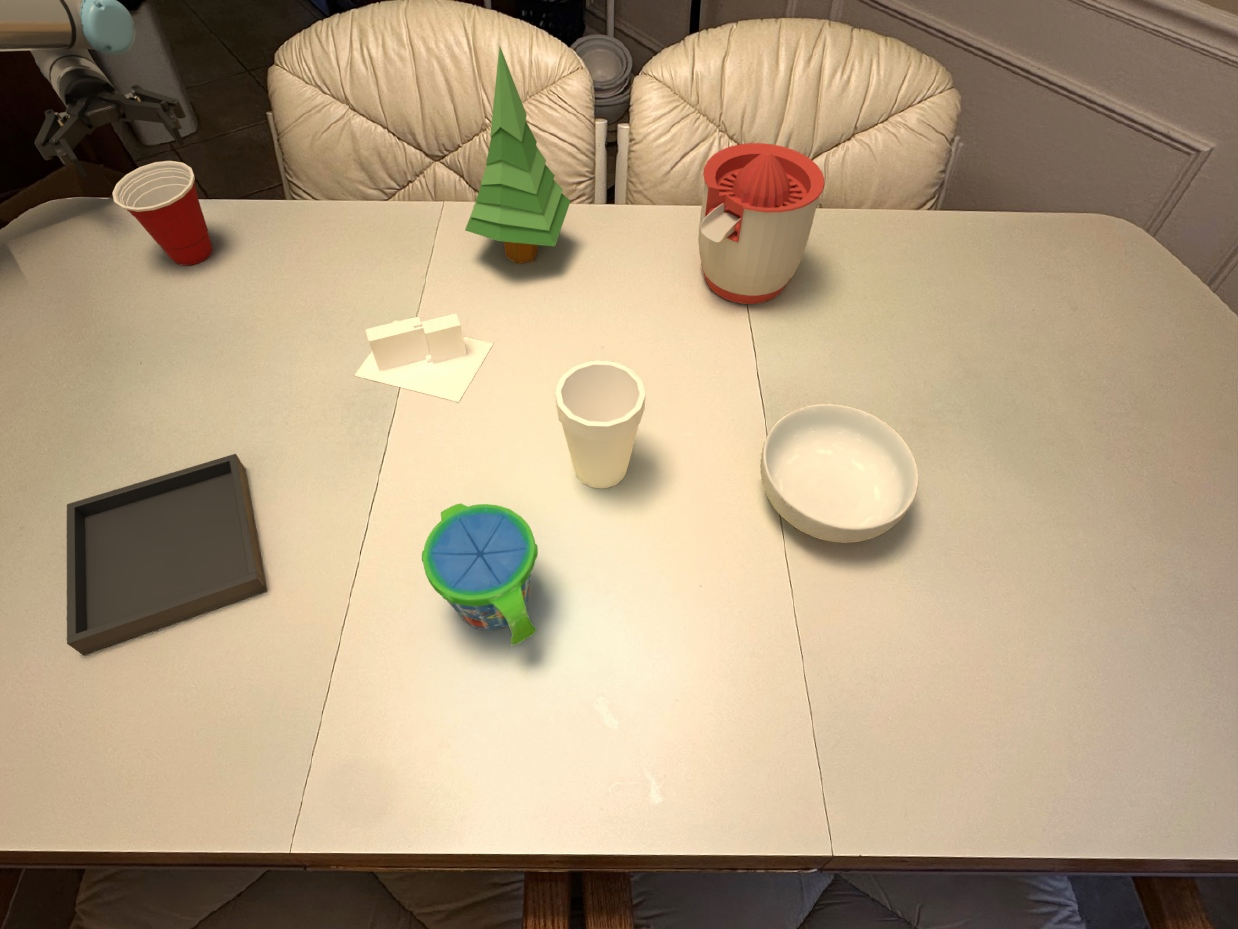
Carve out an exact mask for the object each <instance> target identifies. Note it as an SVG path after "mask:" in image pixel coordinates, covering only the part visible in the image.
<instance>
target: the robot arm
mask: <svg viewBox="0 0 1238 929" xmlns="http://www.w3.org/2000/svg"><path fill="white" fill-rule="evenodd" d="M135 39H136V26H135V22H134V19H133V17H132V15H131V13H130V11H129V10H128V9H127V8H126V6H124V5H123V4H122V3H121V2H120V1H118V0H0V52H18V51H19V52H21V51H25V52H27V51H29V52H30V53H31V55H32V56H33V58H34V60H35V64H36V65H37V67H38V68H39V70H40V73H41V74H42V76H44V78H45V79H47V81H48V82H49V83H50V84H51V86H52V89H53V90H54V91H55V92H56V94H57V95H58V97H59V98H60V100H61V102H62V103H63V104H64V106H65V108H66V109H65V111H64V112H55V111H54V110H53V109H47V110H45V111H44V116H45V119H44V120H43V121H44V122H43V123H42V125H41V127H40V130H39V132H38V134H37V135H36V137H35V140H34V143H33V144H34V146H35V147H36V149H37V150H38V152H39V153H40V155H41V156H42V157H43V159H44V161H51V160H52V159H54V157H55V156H56V157H58V158H59V160H60V161H61V163H62V164H63V165H65V166H67V165H71V164H73V165H74V167H75V168H76V170H77V171H78V174H79V175H80V176H81V178H87V177H89V175H88V174H87V172H86V170H85V169H84V167H83V165H82V163H81V162H80V160H79V159H78V157H77V156H76V154H75V152H74V149H76V147H77V146H78V145H79V143H80V142H82V140H83V139H84V138H85V136H91V135H92V134H93V133H94V132H95V131H96V129H97V128H100V127H104V126H108V125H110V124H112V123H119V122H125V123H126V122H127V123H133V122H134V121H143V122H150V123H159V124H163V126H164V129H165V130H166V131H167V132H168V134H169V135H170V136H171V137H172V138H173V140H174V141H175V142H176V143H177V144H178V146H179V147H182V146H185V145H186V143H185V142H184V139H183V138H182V135H181V134H180V131H179V130H181V129H183V128H182V124H181V122H180V120H181V119H185V118H186V117H187V115H186V112H185V110H184V108H183V105H182V104H181V102H180V100H179V99H178V98H174V97H171V96H168V95H164V94H160V93H158V92H154V91H151V90H147V89H144V88H143V87H141V85H139V84H134V85H131V87H130V88H131V91H130V92H128V93H126V94H124V93H123V92H119V91H118V90H117V89H116V87H114V84H112V82H111V81H110V80H109V79H108V77H107V76H106V75H105V73H104V72H103V71H102V70H101V69H100V67H98V65H97V63H96V62H95V60H94V59H93V57H92V55H91V54H90V52H89V50H94V51H97V52H99V53H101V54H109V55H114V56H115V55H122V54H125V53H126V52H128V51H129V50H131V48H132V46H133V45H134V42H135Z"/></svg>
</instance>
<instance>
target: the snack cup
mask: <svg viewBox="0 0 1238 929" xmlns="http://www.w3.org/2000/svg"><path fill="white" fill-rule="evenodd" d="M440 517H441V520H440V521H439V522H437V524H436V525H435V526H434V527H433V528H432V530H431V531H430V533H429V534H428V536H427V538H426V540H425V543H424V546H423V550H422V551H421V561H422V565H423V569H424V572H425V575H426V578H427V581H428V582H429V584H430V586H431V587H432V588H433V590H434V591H435V592H436V593H437V594H439V595H440V596H441V597H442V598H443V599H444V600H446V601H447V602H448V604H449V605H450V606H451V608H452V609H453V610H454V611H455V613H456V615H458V616H459V617H460V618H461V620H462V621H463V622H464V623H466V624H467V625H469V626H470V627H472V628H475V629H477V630H478V629H479V630H497V629H498V630H499V629H501V628H502V629H503V628H504V627H509V629H510V630H509V631H510V632H511V637H510V641H509V642H510V645H511V646H516V645H518V644H521V643H522V642H524V641H525V640H528V639H529V638H530V637H532V636H533V635H534V634H535V633H536V632H537V628H536V626H534V624H533V623H532V622H531V619H530V617H529V614H528V610H527V607H526V606H527V603H528V600H529V595H530V590H531V580H532V579H531V578H532V572H533V570H534V567H535V563H536V560H537V558H538V552H539V550H538V549H539V548H538V544H537V543H536V540H535V536H534V534H533V531H532V529H531V526H530V525H529V524H528V522H527V521H526V520H525V519H524V518H523V517H522V516H521V515H519V513H517V512H515V511H514V510H512V509H510V508H507V507H505V506H501V505H497V504H488V503H484V504H483V503H482V504H481V503H480V504H472V505H465V504H463V503H462V502H461V503H457V504H454V505H452V506H449V507H447V508H445V509H444V510H442V511H441V512H440Z"/></svg>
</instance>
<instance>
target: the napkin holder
mask: <svg viewBox="0 0 1238 929" xmlns="http://www.w3.org/2000/svg"><path fill="white" fill-rule="evenodd" d="M365 333H366V336H367V340H368V343H369V347H370V349H371V352H370V353H369V354H368V356H367V357H366V358H365V360H364V361H363V362H362V364H361V365H360V367H359V368H358V369H357V371H356V372H355V374H354V377H358V378H362V379H366V380H368V381H374V382H378V383H382V384H385V385H390V386H393V387H397V388H402V389H405V390H409V391H413V392H417V393H422V394H426V395H429V396H432V397H437V398H441V399H445V400H449V401H453V402H457V403H459V402H460V401H461V399H462V397H463V396H464V394H465V392H466V391H467V389H468V387H469V386H470V384H471V382H472V380H473V379H474V377H476V376H475V375H476V374H477V372H478V371H479V369H480V367H481V366H482V364H483V362H484V360H485V359H486V358H487V355H488V354H489V352H490V351H491V349H492V347H493V345H494V343H493V342H488V341H485V340H481V339H475V338H471V337H467V336H464V335H463V329H462V325H461V321H460V319H459V317H458V315H457V313H456V312H455V313H451V314H448V315H443V316H440V317H436V318H432V319H427V320H424V321H421V317H420V316H419V315H418V316H415V317H411V318H406V319H401V320H393V322H389V323H386V324H382V325H378V326H374V327H369V328H366V329H365Z"/></svg>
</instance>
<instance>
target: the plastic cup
mask: <svg viewBox="0 0 1238 929" xmlns="http://www.w3.org/2000/svg"><path fill="white" fill-rule="evenodd" d="M195 181H196V178H195V174H194V172H193V169H192V167H191V166H189V165H187V164H186V163H184V162H180V161H173V160H164V161H155V162H152V163H149V164H146V165H143V166H139V167H138V168H136V169H133V170H132V171H130V172H129V173H127V174H125V175H124V176H123V177H122V178H121V179H120V180H119V181H118V182H117V183H116V184H115V186H114V189H113V191H112V198H113V202H114V203H115V204H116V205H118V206H120V208H122V209H123V210H125V211H127V212H129V214H131V216H133V217H134V218H135V219H136V221H138V223H139V224H140V225H141V226H142V227H143V229H144V230H145V231H146V232H147V233H148V234H149V235H150V236H151V238H152V239H153V241H155V243H156V244H158V245H159V246H160V247H161V249H162V250H163V251H164V253H165V254H166V255H167V256H168V258H170V259H171V260H172V261H173V262H174V263H176V264H177V265H181V266H193V265H197V264H200V263H202V262H204V261H206V260H207V259H208V258H209V257H211V255H212V253H213V245H212V242H211V239H210V238H211V237H210V235H209V228H208V225H207V223H206V220H205V219H206V218H205V216H204V213H203V209H202V207H201V204H200V201H199V200H200V199H199V195H198V192H197V187H196V184H195Z"/></svg>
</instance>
